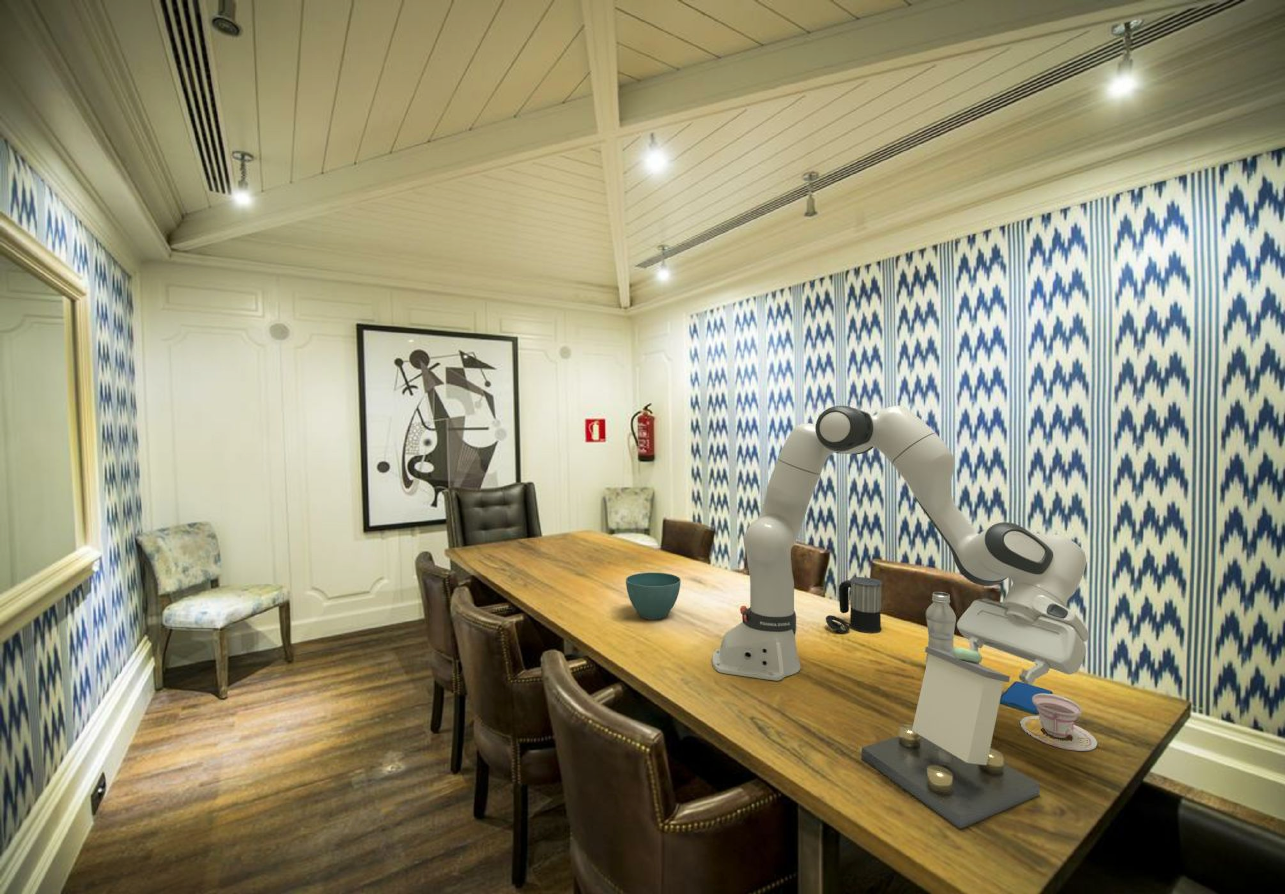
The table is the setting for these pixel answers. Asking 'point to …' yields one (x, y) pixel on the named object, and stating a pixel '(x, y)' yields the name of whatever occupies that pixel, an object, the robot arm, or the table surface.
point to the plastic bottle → (940, 623)
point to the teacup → (1060, 722)
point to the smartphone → (1022, 696)
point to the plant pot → (653, 593)
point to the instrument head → (959, 704)
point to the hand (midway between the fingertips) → (997, 671)
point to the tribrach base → (965, 781)
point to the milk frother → (859, 605)
